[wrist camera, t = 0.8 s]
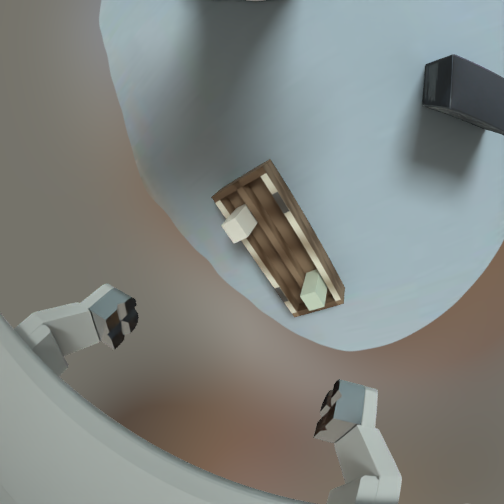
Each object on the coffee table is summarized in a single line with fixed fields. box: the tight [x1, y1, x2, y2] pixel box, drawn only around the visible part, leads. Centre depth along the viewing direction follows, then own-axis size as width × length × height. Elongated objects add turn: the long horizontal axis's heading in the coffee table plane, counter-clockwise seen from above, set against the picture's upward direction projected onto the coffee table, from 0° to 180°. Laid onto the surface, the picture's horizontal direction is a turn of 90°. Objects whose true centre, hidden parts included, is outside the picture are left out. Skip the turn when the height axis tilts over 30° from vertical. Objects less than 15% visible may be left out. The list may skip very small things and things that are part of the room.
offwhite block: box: [221, 204, 258, 243], centre depth 38 cm, size 3×2×6 cm
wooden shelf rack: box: [211, 160, 345, 317], centre depth 41 cm, size 24×9×4 cm, turn 35°
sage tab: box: [300, 269, 327, 311], centre depth 40 cm, size 3×2×6 cm
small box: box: [423, 54, 504, 135], centre depth 19 cm, size 11×6×10 cm, turn 89°
